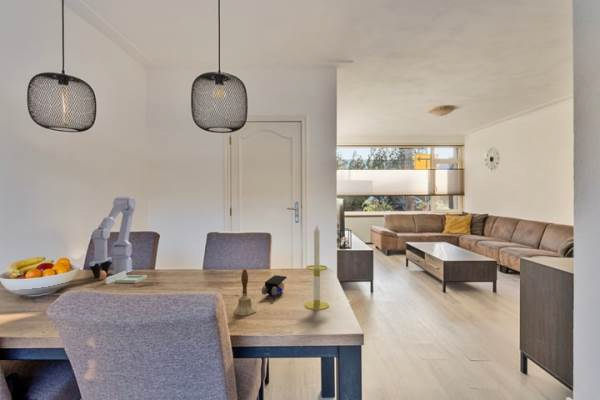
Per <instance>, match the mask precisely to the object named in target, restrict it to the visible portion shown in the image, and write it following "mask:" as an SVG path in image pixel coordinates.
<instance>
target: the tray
mask: <svg viewBox="0 0 600 400" xmlns="http://www.w3.org/2000/svg"><path fill="white" fill-rule="evenodd" d="M147 278H148V275H146V274H145V275H144V274H142V275H140V274H139V275H137V274H135V275H134V274H132V275H131V274H128V275H127V274H126V276H125V277H122V278H119V279H117V280H116V281H115V283H118V284H122V283H124V284H137V283H139V282H142V281H144V280H146V279H147Z"/></svg>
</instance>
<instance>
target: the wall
mask: <svg viewBox="0 0 600 400" xmlns="http://www.w3.org/2000/svg"><path fill="white" fill-rule="evenodd" d="M125 276H127V273H126V271H123V272H120V273H118V274H111V275H109V276H108V277H107V276H106V277H105V278H104V283H105V285H108V284H110V283H113V282H116V280H117V279H119V278H122V277H125Z"/></svg>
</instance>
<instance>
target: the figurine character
mask: <svg viewBox="0 0 600 400" xmlns="http://www.w3.org/2000/svg"><path fill="white" fill-rule="evenodd" d="M286 279H287V276H284V275H272V276H271V277H270V278H269V279H267V280H266V281H265V282H264V286H262V288H261V295H263V296H264V295H267V296H266V297H265V299H269V298H270V297H272V300H274V299H275V298H276V297H277V296H278V295H279V294H281V293H283V291H284V290H285V284H284V283H283V282H284V281H285V280H286Z"/></svg>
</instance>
